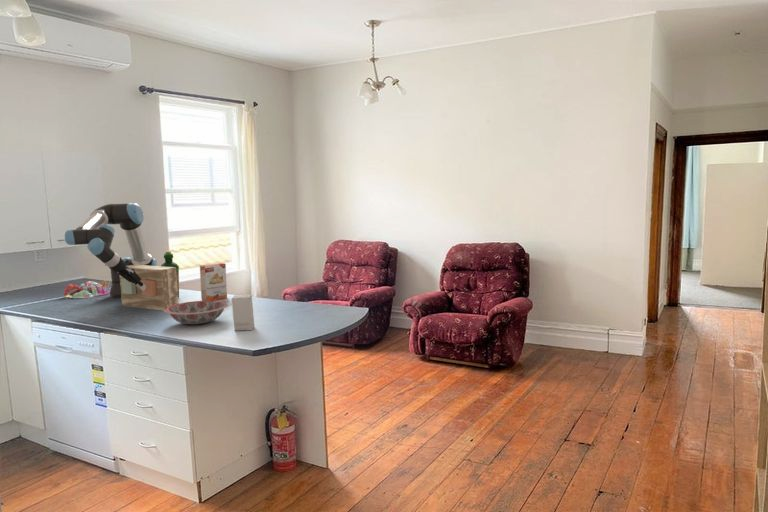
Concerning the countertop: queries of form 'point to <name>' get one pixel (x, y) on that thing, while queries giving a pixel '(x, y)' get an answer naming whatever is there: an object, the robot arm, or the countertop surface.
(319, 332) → the countertop surface
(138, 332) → the countertop surface
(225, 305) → the ceramic bowl
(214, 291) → the cracker box
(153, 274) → the block
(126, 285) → the sage button
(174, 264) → the bottle
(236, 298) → the skincare box
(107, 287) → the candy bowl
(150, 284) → the terracotta button
